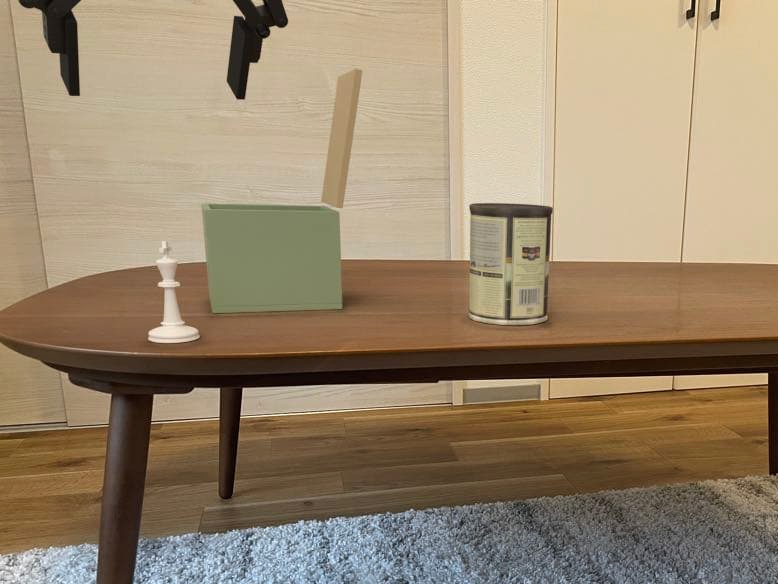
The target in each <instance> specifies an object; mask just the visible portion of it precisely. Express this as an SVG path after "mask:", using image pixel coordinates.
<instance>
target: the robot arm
mask: <svg viewBox="0 0 778 584" xmlns="http://www.w3.org/2000/svg"><path fill="white" fill-rule="evenodd" d="M17 1H18V3H19V4H20V6H21V7H23V8H25V9H37V10H39V11H41V18H42V33H43V38H44V40H45V43H46V46H47V47H48V49H49V51H50V52H51V54H59V70H60V72H59V73H60V77H61V80H62V82H63V84H64V86H65V88H66V91H67V94H68V96H69V97H80V96H81V86H80V85H81V83H80V58H79V57H80V56H79V32H78V31H79V30H78V29H79V28H78V20H77V19H76V16H75V14H74V12H73V9H74V8H75V7H77V5H78V4H79V3H80V2H81V1H82V0H17ZM232 2H233V4H235V6H236V7H237V8H238V10H239V12H241V14H242V15H243V16H242V15H233V21H232V30H231V38H230V45H229V46H230V47H229V55H228V63H227V64H228V65H227V71H226V72H227V73H226V83H227V85H228V87H229V88H230V90H231V92H232V94H233V95H234V97H235V99H236V100H240V101H241V100H246V94H247V88H248V81H249V74H250V65H251V64H258V63H259V61H260V59H261V55H262V48H263V43H264V42H263V41H264V39H265V40H266V39H268V38H269V37H270V36H271V29H270V28H272V27H277V28H279V29H284V28H286V27H287V26H288V24H289V18H288V15H287V12H286V9H285V5H284V2H283V1H282V0H262V3H263V4H261V5H256V4H255V3H254V1H253V0H232Z"/></svg>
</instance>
